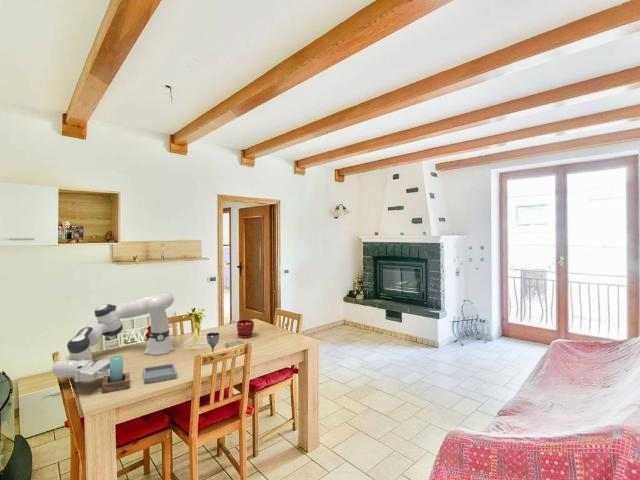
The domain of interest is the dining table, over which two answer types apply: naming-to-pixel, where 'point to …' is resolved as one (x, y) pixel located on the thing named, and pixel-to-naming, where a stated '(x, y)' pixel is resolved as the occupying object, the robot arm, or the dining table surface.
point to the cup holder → (116, 384)
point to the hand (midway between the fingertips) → (112, 369)
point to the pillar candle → (116, 369)
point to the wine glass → (212, 339)
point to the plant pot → (245, 328)
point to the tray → (159, 373)
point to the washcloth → (234, 343)
